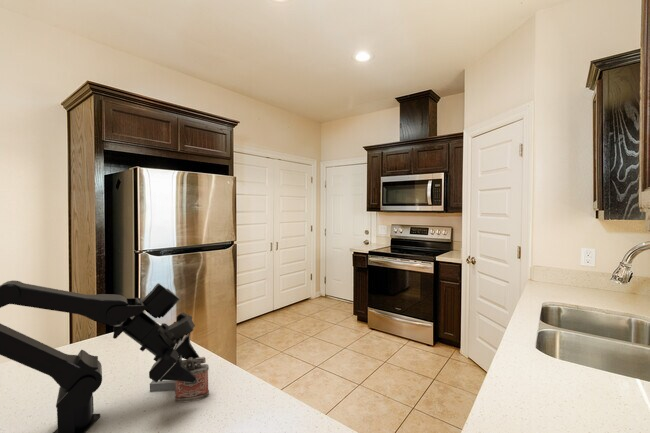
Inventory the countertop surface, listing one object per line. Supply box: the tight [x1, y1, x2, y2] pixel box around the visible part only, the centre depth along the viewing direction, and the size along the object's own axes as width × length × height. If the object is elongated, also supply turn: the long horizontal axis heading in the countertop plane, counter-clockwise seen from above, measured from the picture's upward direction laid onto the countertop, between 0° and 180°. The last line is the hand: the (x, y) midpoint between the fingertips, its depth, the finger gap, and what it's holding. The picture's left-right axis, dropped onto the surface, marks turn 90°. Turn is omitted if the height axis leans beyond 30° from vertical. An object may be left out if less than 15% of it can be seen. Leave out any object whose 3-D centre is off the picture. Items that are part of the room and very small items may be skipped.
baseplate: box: [149, 364, 197, 392], centre depth 86 cm, size 10×10×2 cm
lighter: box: [174, 356, 210, 403], centre depth 78 cm, size 8×3×10 cm, turn 105°
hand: (197, 370), depth 78 cm, fingers open, 9 cm apart
